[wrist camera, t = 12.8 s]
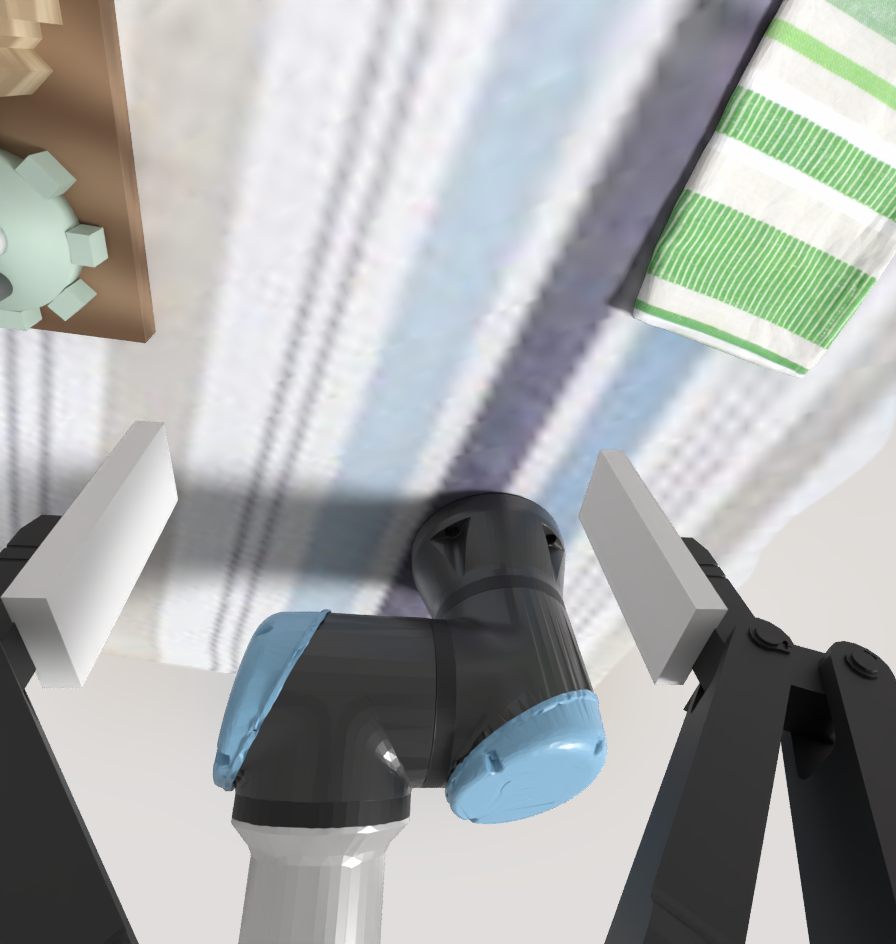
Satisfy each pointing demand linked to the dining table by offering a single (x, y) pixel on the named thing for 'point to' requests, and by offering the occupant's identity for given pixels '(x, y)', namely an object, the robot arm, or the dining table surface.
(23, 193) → the gear
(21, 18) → the beech gear
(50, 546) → the robot arm
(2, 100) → the gear board
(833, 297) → the dish towel
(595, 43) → the dining table surface
